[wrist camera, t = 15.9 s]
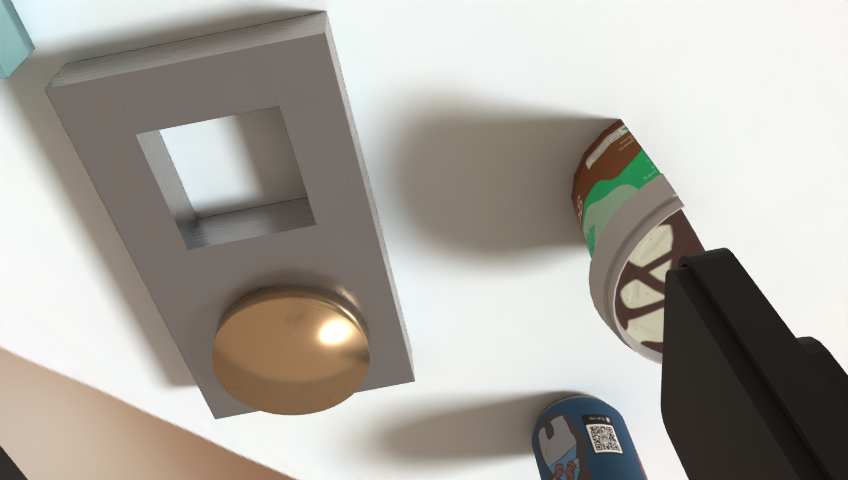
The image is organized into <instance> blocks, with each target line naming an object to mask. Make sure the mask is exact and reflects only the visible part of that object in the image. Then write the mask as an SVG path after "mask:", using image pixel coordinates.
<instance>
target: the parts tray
mask: <svg viewBox="0 0 848 480" xmlns="http://www.w3.org/2000/svg"><path fill="white" fill-rule="evenodd" d="M34 49H35V47H34V45H33V43H32V41H31V39H30V37H29V35H28V33H27V31H26V29H25V28H24V26H23V24H22V22H21V20H20V18H19V16H18V14H17V12H16V10H15V8H14V6H13V4H12V2H11V0H0V79H2V78H7V77H9V76H10V75H11V74H12V72H13V71H14V70H15V69H16V68H17V67H18V66H19V65H20V64H21V63H22V62H23V61H24V60H25V59H26V58H27V57H28V56H29V55H30V53H31V52H32V51H33V50H34Z"/></svg>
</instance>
